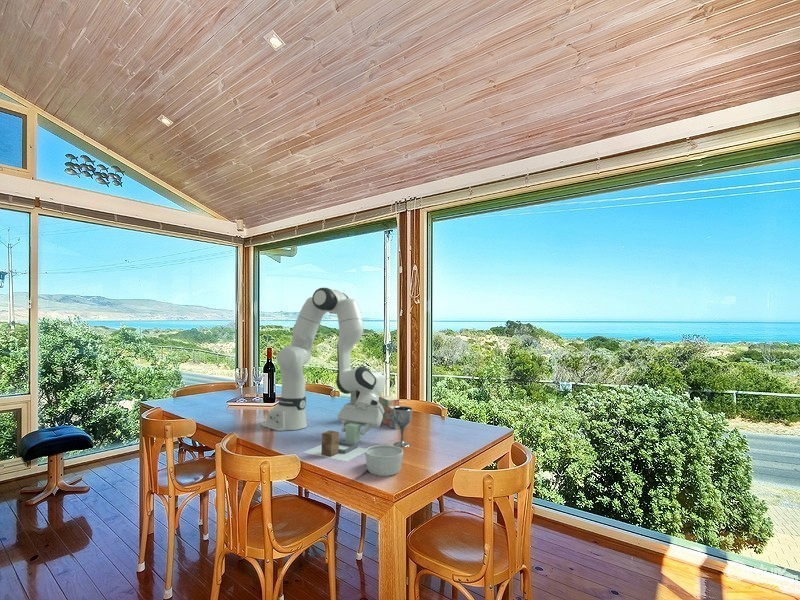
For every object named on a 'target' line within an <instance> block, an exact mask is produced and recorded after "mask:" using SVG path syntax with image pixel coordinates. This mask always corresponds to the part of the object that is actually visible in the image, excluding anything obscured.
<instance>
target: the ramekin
mask: <svg viewBox="0 0 800 600" xmlns="http://www.w3.org/2000/svg"><path fill="white" fill-rule="evenodd" d="M365 449H366V450H365V452H364V455H365V463H366V464H365V465H366V469H367V471H368V473H370V474H371V475H373V474H374V475H373V476H376V475H378V476H377V477H390V476H389V475H392V476H395V475H397V474H398V473H399V472H401V468H402V464H403V456H404V450H403V448H402V447H397V446H395V445H394V444H392V445H391V444H375V445H371V446H369V447H367V448H365ZM394 474H395V475H394Z"/></svg>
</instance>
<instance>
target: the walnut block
mask: <svg viewBox="0 0 800 600" xmlns="http://www.w3.org/2000/svg"><path fill="white" fill-rule="evenodd" d="M339 441H340V432H339V431H335V430H330V429H329V430H326V431H324V432H322V433H321V445H322V451H321V455H325V456H329V457H332V456H334V455H336V454H338V450H339Z"/></svg>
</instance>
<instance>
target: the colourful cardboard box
mask: <svg viewBox="0 0 800 600" xmlns="http://www.w3.org/2000/svg"><path fill="white" fill-rule="evenodd" d="M378 402H379V403H380V404H381V405H382V407H383V409H384V414H382V415H383V419H382V422H381V423H383V422H384V423H383V424H385V423H386V425H387V424H388V425H387V426H389V427H391V428H392V429H394V430H400V428H399V427H398V425H397V424H396V423H395V421H394V415H393V408H394V407H398V406H400V399H399V398H396V397H394V396H391V395H381V396H380V397H379V398H378Z"/></svg>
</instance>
